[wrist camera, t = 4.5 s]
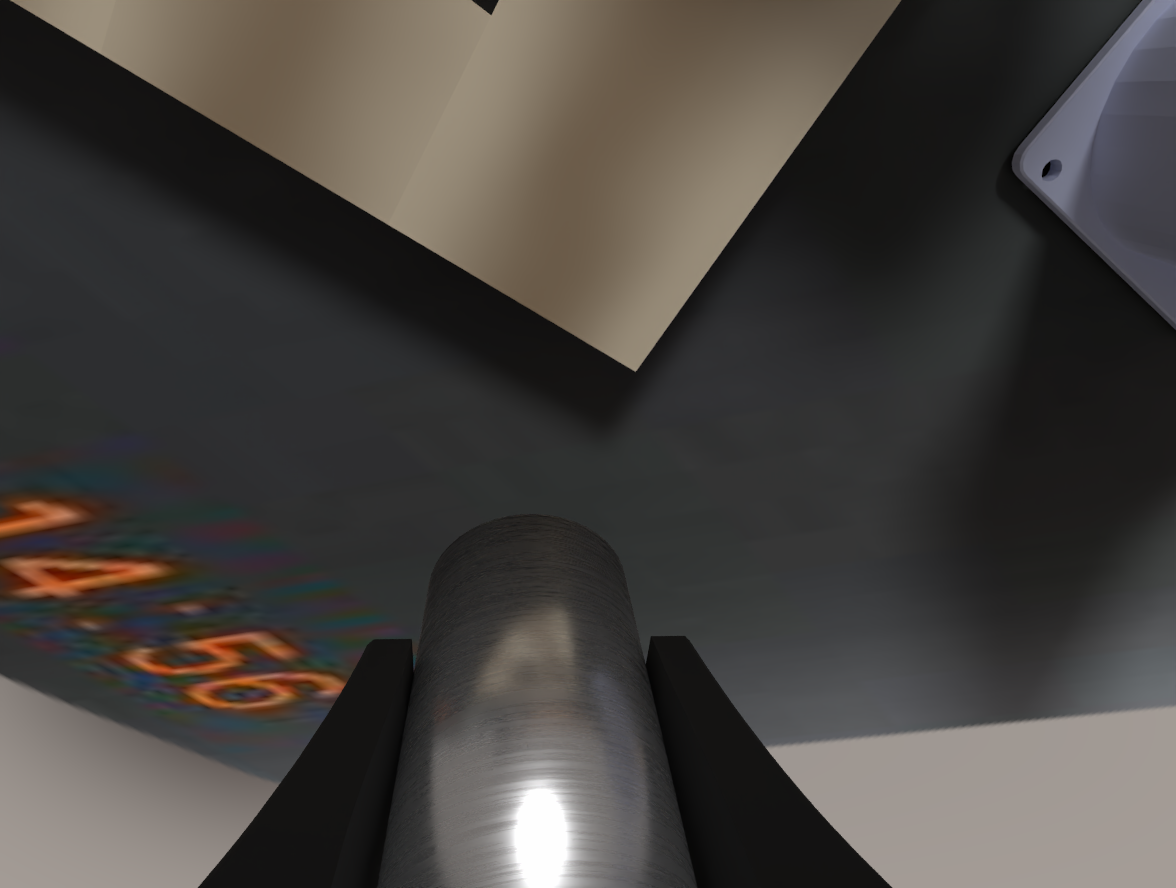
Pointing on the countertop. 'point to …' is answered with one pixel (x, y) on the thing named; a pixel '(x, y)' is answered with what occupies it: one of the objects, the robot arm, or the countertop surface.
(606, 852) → the steel peg
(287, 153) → the socket block
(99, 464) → the countertop surface
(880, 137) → the countertop surface
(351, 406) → the countertop surface
